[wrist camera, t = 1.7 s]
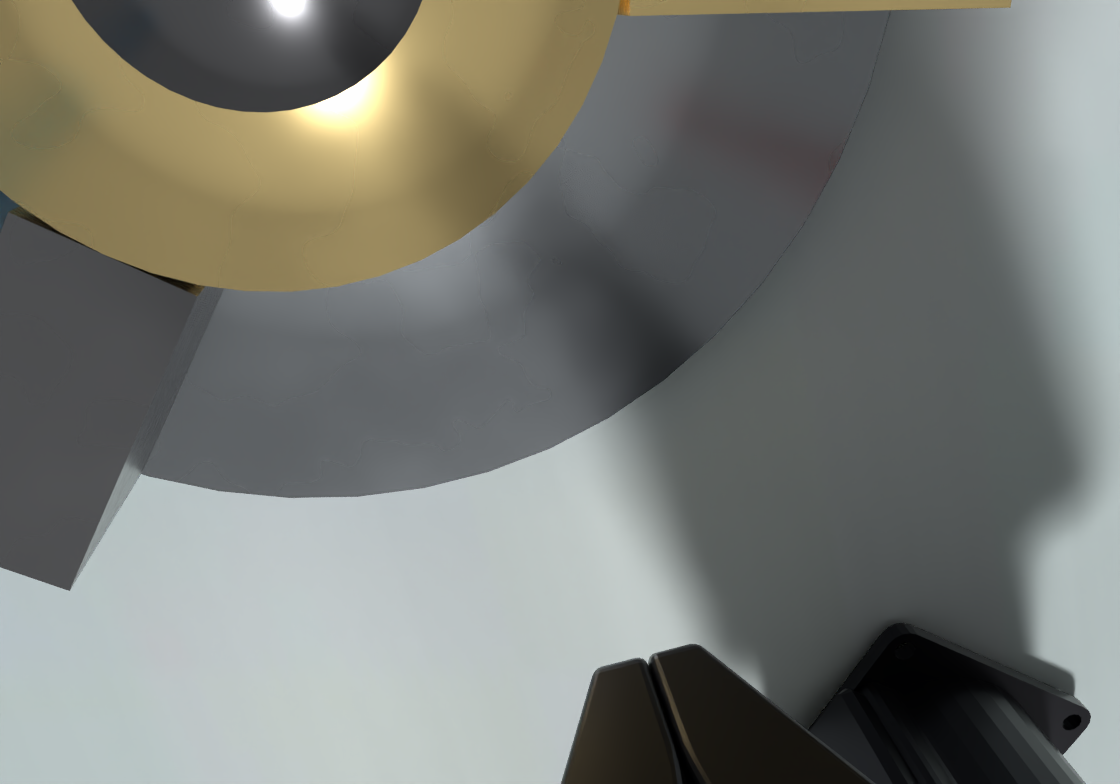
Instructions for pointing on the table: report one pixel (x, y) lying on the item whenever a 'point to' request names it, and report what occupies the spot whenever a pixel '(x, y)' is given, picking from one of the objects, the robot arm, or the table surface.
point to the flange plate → (540, 275)
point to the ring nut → (243, 192)
